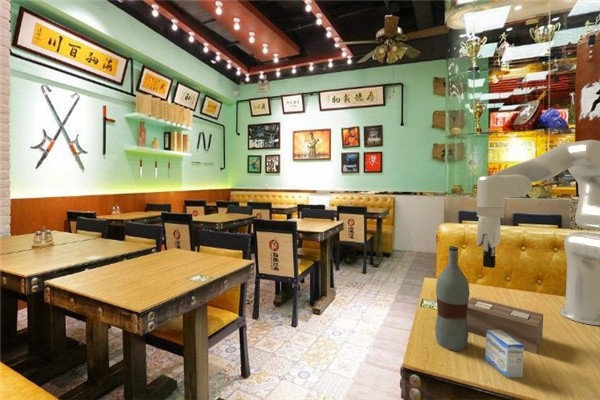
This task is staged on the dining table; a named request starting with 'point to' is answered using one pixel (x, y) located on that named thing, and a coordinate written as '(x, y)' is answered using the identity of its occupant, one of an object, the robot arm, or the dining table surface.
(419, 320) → the dining table surface
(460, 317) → the bottle
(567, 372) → the dining table surface
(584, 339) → the dining table surface
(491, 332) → the medicine box
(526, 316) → the pale grey block
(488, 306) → the ash peg
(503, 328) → the block
